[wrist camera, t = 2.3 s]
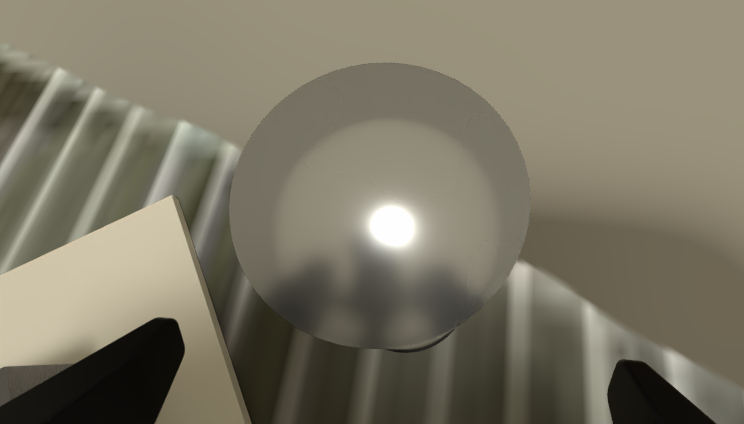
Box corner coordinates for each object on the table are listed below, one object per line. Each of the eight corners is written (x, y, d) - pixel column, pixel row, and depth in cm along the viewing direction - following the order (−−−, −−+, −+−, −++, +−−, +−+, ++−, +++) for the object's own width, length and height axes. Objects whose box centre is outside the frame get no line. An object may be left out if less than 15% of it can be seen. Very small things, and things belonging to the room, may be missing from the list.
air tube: (481, 322, 18) (606, 262, 6) (381, 371, 18) (287, 419, 6) (430, 226, 19) (441, 14, 7) (337, 271, 19) (186, 133, 7)
